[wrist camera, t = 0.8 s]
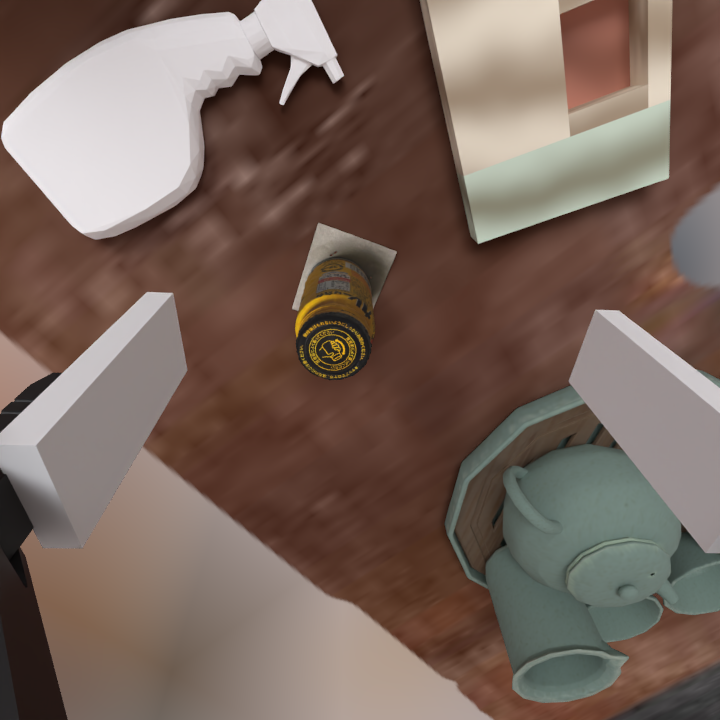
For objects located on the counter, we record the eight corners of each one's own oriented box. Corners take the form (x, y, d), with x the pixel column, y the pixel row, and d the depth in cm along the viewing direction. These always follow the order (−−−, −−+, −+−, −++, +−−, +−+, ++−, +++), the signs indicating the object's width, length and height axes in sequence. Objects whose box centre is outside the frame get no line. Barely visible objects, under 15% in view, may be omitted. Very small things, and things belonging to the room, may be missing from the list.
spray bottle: (4, 120, 33) (276, -80, 28) (108, 246, 38) (354, 96, 33) (-25, 121, 30) (269, -99, 25) (91, 256, 35) (355, 95, 30)
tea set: (652, 596, 67) (734, 727, 53) (408, 568, 62) (426, 705, 48) (848, 392, 47) (1062, 513, 33) (514, 328, 42) (598, 437, 28)
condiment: (292, 308, 40) (272, 375, 30) (318, 222, 36) (306, 266, 26) (363, 331, 42) (368, 403, 31) (396, 250, 38) (414, 303, 28)
